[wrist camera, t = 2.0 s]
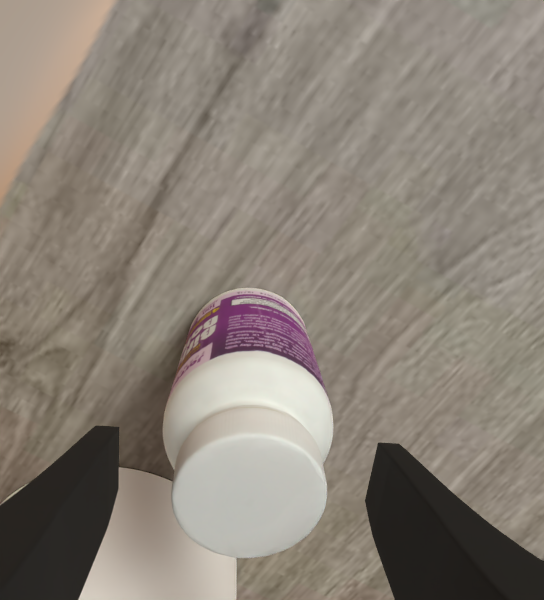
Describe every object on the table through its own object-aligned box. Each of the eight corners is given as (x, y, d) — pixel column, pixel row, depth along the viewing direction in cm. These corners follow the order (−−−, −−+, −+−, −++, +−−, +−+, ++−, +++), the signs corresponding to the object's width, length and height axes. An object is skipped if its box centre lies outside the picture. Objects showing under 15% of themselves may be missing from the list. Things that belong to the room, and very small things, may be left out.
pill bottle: (193, 276, 19) (148, 395, 10) (315, 292, 20) (376, 418, 11) (182, 387, 21) (135, 575, 12) (295, 399, 22) (333, 585, 12)
